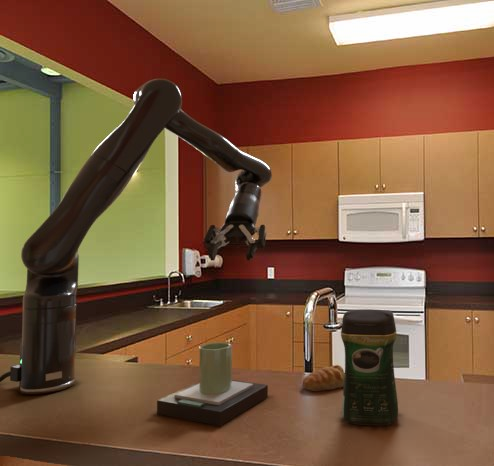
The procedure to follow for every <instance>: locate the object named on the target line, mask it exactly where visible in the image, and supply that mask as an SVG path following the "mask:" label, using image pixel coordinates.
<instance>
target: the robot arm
mask: <svg viewBox="0 0 494 466" xmlns="http://www.w3.org/2000/svg"><path fill="white" fill-rule="evenodd" d="M133 105H134V106H133V107H132V108H131V110H130V112H129V113H128V115H127V116H126V118H125V119H124V121H122V123H120V124H119V126H118V127H116V128H115V129H114V130H113V131H112V132H111V133H110V134H109V135H108V136H107V137H106V138H105V139H104V140H103V141H102V142H101V143H99V145H98V146H97V147H96V148H95V150H94V151H93V152H92V153H91V154H90V156H89V157H88V158H87V159H86V161H85V162H84V164H83V165H82V167H81V168H80V169H79V171H78V173H77V174H76V176H75V177H74V179H73V180H72V182H71V183H70V185H69V187H68V188H67V190H66V192H65V193H64V195H63V197H62V199H61V201H60V202H59V203H58V205H57V206H56V208H54V210H53V211H52V213H50V215H49V216H48V217H47V218H46V219H45V220H44V222H42V224H40V225H39V227H38V228H37V229H36V230H35V231H34V232H33V233H32V234H31V235H30V236H29V237H28V238H27V239H26V241H25V242H24V244H23V245H22V248H21V253H20V258H21V261H22V264H23V265H24V267H25V268H26V284H25V290H24V293H23V297H22V326H21V327H22V331H21V343H20V345H19V364H17V365H13V366H10V371H7V372H5V373H3V374H2V375H0V383H1V382H3V381H4V380H5V379H7V378H9V381H10V382H15V383H19V385H18V390H19V393H20V394H22V395H28V396H29V395H31V396H35V395H44V394H50V393H56V392H59V391H63V390H66V389H68V388H71V387H73V385H75V384H76V346H77V345H76V341H77V340H76V339H77V337H76V336H77V296H78V295H77V294H78V288H79V287H78V286H79V265H80V263H79V262H80V259H79V257H80V255H79V254H80V253H79V249H80V246H81V244H82V243H83V241H84V239H85V237H86V236H87V234H88V232H89V230H90V229H91V228H92V226H93V225H94V224H95V222H96V221H97V220H98V219H99V218H100V217H101V216H102V215H103V214H104V213H105V212H106V211H107V210H108V209H109V208H110V207H111V206H112V205H113V204H114V203H115V201H116V200H117V199H118V198H119V197H120V195H121V194H122V193H123V191H124V190H125V189H126V187H127V186H128V184H129V183H130V182H131V180H132V178H133V177H134V175H135V174H136V172H137V170H138V169H139V167H140V166H141V164H143V163H142V162H143V161H144V159H145V157H146V156H147V154H148V152H149V151H150V149H151V147H152V145H153V144H154V142H155V141H156V139H157V138H158V137H159V136H160V134H161V133H162V132H163V131H164V130H167V131H169V132H170V133H172V134H174V135H175V136H177V137H179V139H181V140H183V141H185V142H186V143H187V144H188V145H191V146H192V147H193V148H195V149H196V150H198V151H199V152H200V153H202V155H204V156H205V157H207V158H208V159H209V160H210V161H212V162H213V163H215V164H216V165H217V166H218V167H220V168H221V169H223V170H224V171H226V172H227V173H234V172H237V171H239V170H241V171H240V172H239V173H238V174H237V175H236V178H235V192H234V193H235V194H234V196H233V198H232V201H230V202H231V203H230V205H229V208H228V210H227V214H226V217H225V220H224V223H223V225H222V226H221V227H217V226H216V225H215V224H210V225H209V227H208V230H207V232H206V234H205V236H204V238H203V242H204V246H205V248H206V249H208V251H207V256H208V258H209V259H210V261H211V262H212V261H215V260H216V257H217V254H218V251H219V249H220V248H222V247H225V246H227V245H228V244H235V243H238V244H243V243H246V245H247V249H246V253H245V257H246V261H252V259H254V257H255V254H256V250H257V249H258V248H260V249H264V248H265V246H266V241H267V240H266V239H267V229H266V225H265V224H260V225H259V226H258V227H257V226H256V225H257V220H258V217H259V216H260V215H259V214H260V205H261V201H262V197H263V192H262V189H261V188H262V187H264V186H265V185H266V184H268V183H269V182H271V180H272V178H273V172H272V169H271V167H270V166H269V164H267V163H266V162H265V161H264V160H262V159H259V158H257V157H256V156H253V155H251V154H248V153H247V152H244V151H242V150H240V149H239V148H238V147H237V146H236V145H234V144H233V143H232V142H230V141H229V139H227V138H226V137H224V136H223V135H221V134H220V133H219V132H216V131H214V130H213V129H212V128H209V127H208V126H206V125H203V124H202V123H200V122H198V121H197V120H195V119H194V118H193V117H191V116H190V115H188V114H187V113H186V112H185V111H183V109H182V105H183V96H182V92H181V90H180V89H179V87H178V85H176V84H175V82H173V81H170V80H168V79H166V78H154V79H150V80H148V81H146V82H144V83H143V84H141V85H140V86H138V88H137V89H135V91H134V94H133ZM255 234H256V235H257V236H258V238H257V239H255V238H254V237H253V236H254V235H255Z"/></svg>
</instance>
